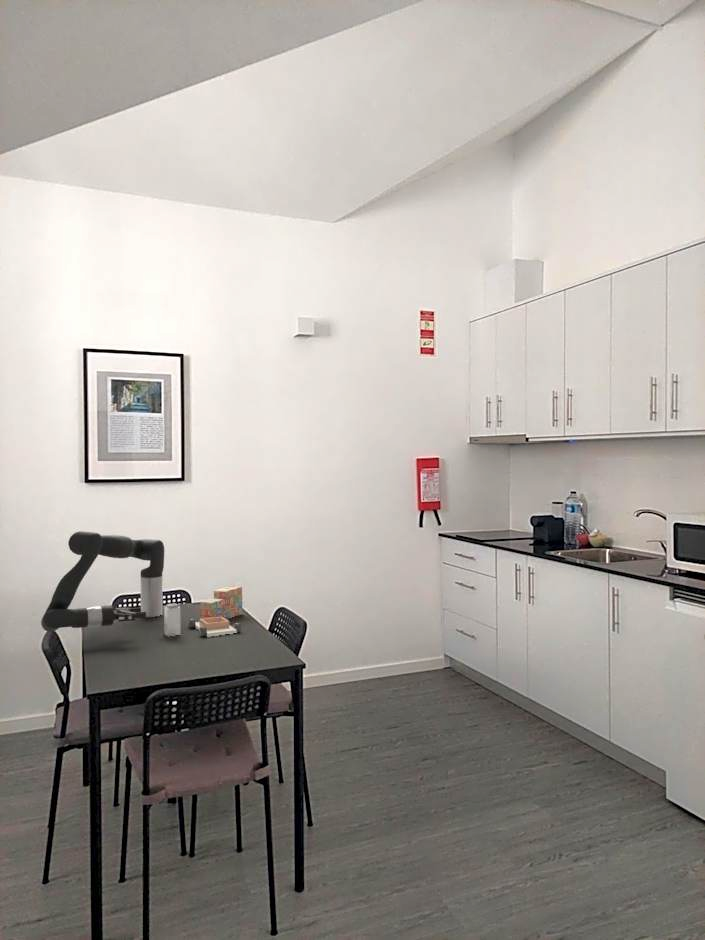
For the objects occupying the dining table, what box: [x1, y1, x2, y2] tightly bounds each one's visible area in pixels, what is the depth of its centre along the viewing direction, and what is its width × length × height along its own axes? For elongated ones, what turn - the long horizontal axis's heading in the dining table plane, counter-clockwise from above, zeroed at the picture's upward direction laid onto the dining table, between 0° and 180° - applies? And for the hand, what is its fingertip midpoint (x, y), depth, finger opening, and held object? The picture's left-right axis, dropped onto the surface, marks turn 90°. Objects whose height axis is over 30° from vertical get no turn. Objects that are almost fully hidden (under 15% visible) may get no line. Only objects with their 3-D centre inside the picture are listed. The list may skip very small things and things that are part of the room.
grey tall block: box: [163, 603, 181, 638], centre depth 292 cm, size 5×5×12 cm
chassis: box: [187, 615, 242, 638], centre depth 300 cm, size 20×16×4 cm
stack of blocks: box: [200, 585, 244, 620], centre depth 320 cm, size 21×6×12 cm, turn 153°
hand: (143, 612), depth 286 cm, fingers open, 8 cm apart
